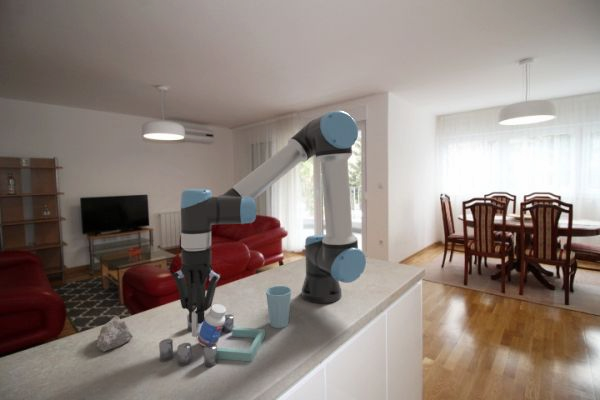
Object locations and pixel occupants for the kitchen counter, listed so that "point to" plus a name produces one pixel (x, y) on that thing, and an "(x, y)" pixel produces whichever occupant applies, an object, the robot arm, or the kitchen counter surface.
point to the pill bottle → (212, 325)
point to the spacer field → (185, 348)
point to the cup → (278, 305)
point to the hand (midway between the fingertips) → (196, 333)
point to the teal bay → (243, 354)
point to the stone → (113, 334)
